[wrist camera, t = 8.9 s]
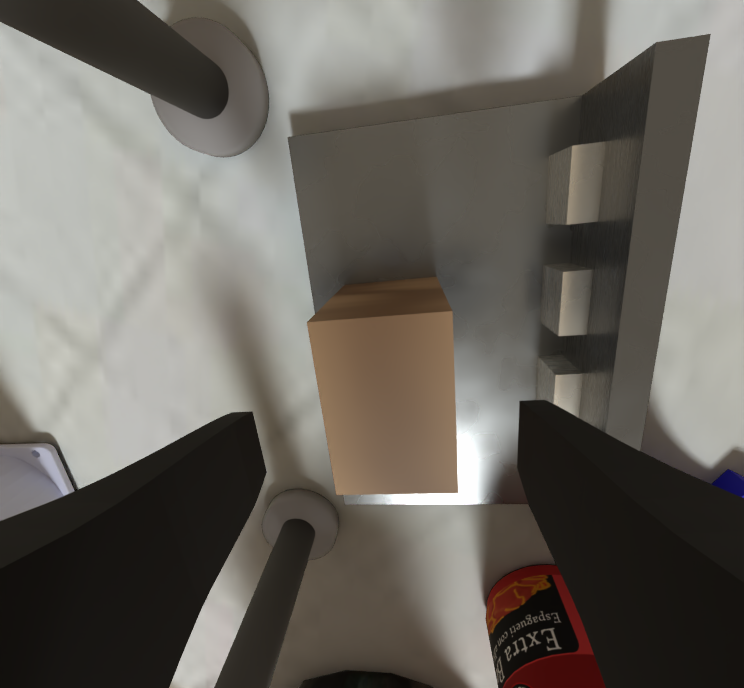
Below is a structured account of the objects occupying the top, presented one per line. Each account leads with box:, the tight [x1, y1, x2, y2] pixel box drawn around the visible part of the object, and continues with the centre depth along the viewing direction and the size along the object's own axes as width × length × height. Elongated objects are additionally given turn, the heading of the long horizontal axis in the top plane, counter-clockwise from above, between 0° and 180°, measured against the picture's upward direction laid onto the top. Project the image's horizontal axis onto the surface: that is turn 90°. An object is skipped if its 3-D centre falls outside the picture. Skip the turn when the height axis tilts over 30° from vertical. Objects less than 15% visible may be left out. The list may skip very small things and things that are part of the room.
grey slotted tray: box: [288, 34, 710, 505], centre depth 15 cm, size 12×18×5 cm, turn 6°
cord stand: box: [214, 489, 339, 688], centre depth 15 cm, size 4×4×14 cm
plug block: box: [307, 277, 459, 495], centre depth 13 cm, size 4×6×6 cm, turn 6°
